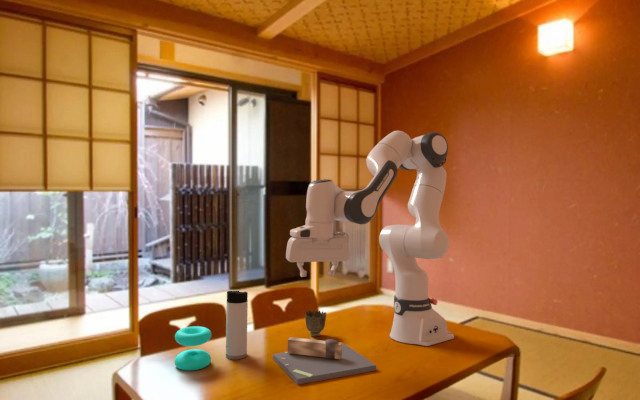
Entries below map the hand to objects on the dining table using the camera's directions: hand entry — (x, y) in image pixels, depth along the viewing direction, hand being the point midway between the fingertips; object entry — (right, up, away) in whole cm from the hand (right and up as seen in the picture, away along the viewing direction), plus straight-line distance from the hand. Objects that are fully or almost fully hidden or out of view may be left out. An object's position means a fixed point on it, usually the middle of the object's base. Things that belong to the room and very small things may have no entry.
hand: (317, 276), depth 137 cm
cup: (-1, -24, +17) cm, 29 cm away
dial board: (+2, -24, -9) cm, 26 cm away
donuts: (-35, -24, -11) cm, 44 cm away
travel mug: (-25, -24, -4) cm, 34 cm away
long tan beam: (-1, -22, -7) cm, 23 cm away
